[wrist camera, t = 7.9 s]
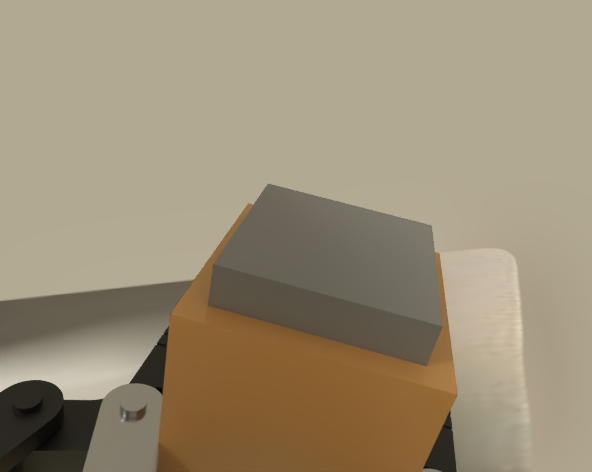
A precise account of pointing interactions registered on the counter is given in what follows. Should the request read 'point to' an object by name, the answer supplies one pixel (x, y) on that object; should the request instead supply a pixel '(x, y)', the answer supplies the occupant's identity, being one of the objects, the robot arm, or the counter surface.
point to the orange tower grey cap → (309, 345)
